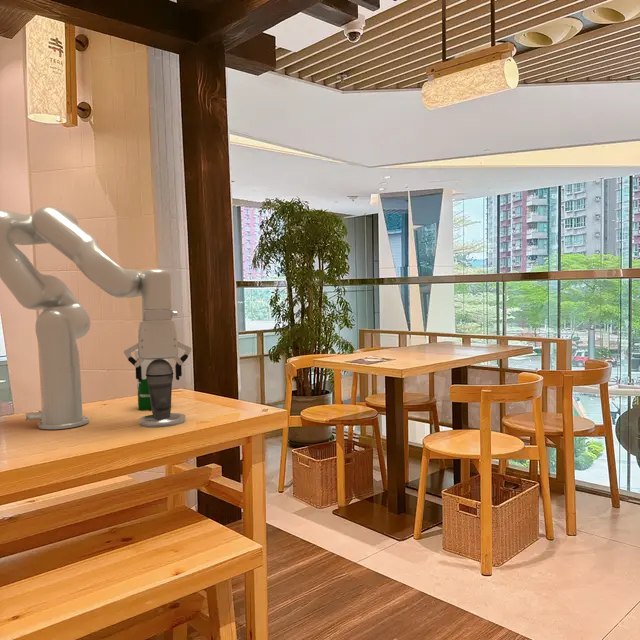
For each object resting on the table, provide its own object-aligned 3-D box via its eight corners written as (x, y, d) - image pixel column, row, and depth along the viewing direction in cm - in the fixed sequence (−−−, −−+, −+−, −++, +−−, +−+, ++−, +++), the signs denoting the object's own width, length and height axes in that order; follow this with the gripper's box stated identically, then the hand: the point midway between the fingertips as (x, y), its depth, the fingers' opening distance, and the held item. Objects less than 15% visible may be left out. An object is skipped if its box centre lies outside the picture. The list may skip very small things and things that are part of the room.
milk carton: (173, 404, 183) (170, 340, 182) (162, 410, 174) (159, 342, 173) (146, 404, 184) (143, 340, 183) (133, 410, 176) (130, 343, 174)
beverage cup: (155, 414, 164) (151, 341, 162) (180, 414, 162) (176, 341, 161) (142, 420, 156) (138, 344, 155) (168, 420, 155) (164, 343, 154)
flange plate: (139, 429, 151) (139, 424, 151) (138, 419, 163) (138, 415, 163) (187, 424, 155) (187, 419, 155) (183, 415, 167) (183, 411, 166)
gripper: (188, 314, 164) (190, 376, 165) (122, 316, 158) (124, 380, 159) (192, 315, 157) (193, 380, 158) (122, 317, 151) (125, 384, 152)
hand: (159, 380), depth 158 cm, fingers open, 9 cm apart
